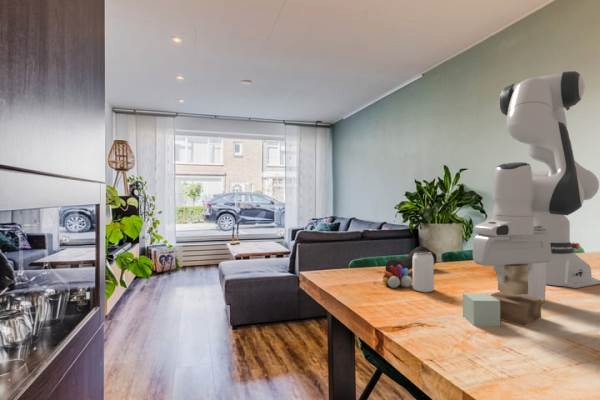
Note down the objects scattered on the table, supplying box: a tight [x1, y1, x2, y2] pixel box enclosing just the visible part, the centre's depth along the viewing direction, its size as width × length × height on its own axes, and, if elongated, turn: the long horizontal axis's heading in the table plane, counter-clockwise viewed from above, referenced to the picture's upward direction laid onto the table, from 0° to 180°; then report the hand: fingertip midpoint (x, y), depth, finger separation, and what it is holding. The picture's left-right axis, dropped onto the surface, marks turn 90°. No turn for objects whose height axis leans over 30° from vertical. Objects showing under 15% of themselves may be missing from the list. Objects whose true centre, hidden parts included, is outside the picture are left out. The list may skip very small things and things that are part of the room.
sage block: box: [462, 292, 501, 327], centre depth 80 cm, size 6×6×6 cm
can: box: [412, 252, 435, 293], centre depth 107 cm, size 6×6×12 cm
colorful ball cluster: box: [382, 265, 413, 289], centre depth 113 cm, size 8×10×7 cm
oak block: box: [497, 264, 528, 295], centre depth 83 cm, size 4×4×7 cm
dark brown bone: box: [385, 245, 438, 273], centre depth 132 cm, size 11×10×28 cm
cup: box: [520, 263, 547, 304], centre depth 97 cm, size 11×11×17 cm
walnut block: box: [490, 290, 542, 327], centre depth 83 cm, size 9×9×5 cm
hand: (512, 281), depth 83 cm, fingers closed on oak block, 4 cm apart
